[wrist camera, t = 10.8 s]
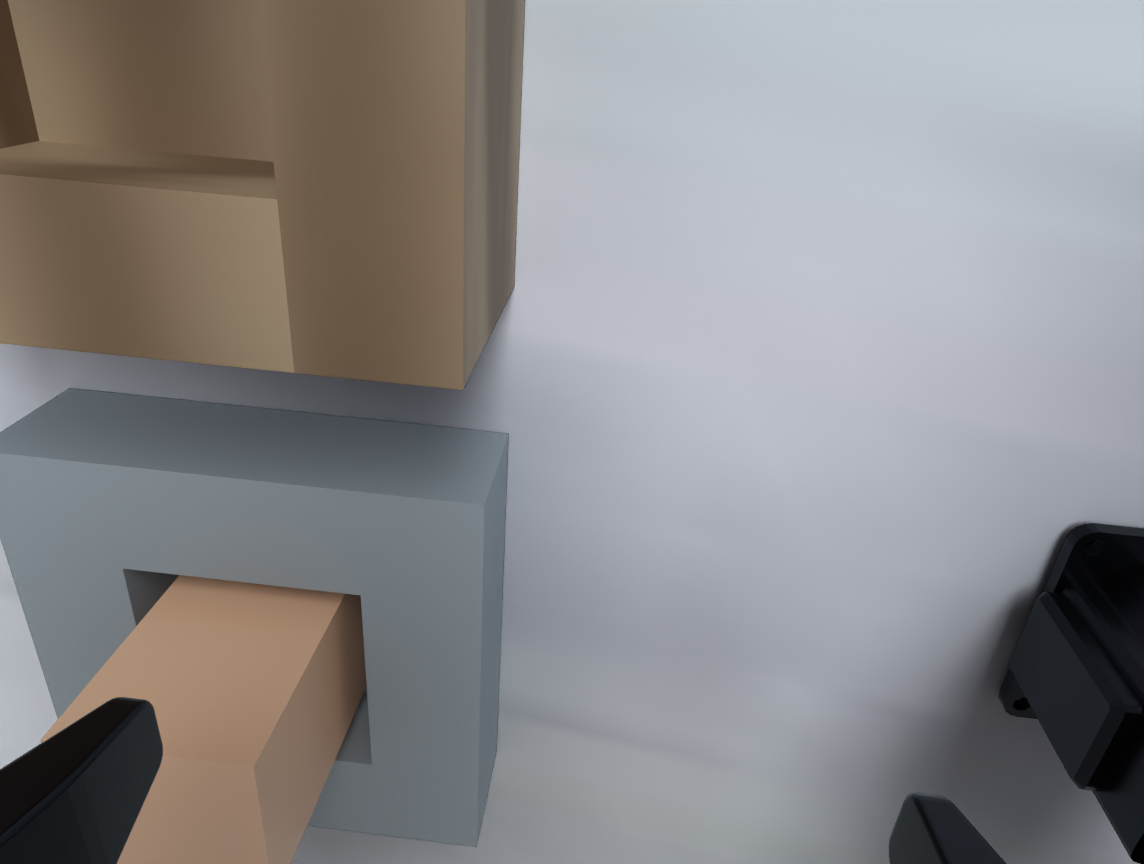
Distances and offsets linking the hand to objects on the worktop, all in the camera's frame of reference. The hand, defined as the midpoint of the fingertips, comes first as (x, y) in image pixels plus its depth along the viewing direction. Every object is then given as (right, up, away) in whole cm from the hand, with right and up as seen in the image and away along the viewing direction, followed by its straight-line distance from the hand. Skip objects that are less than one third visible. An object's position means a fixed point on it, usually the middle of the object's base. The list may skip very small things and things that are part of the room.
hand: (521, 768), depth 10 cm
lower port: (-7, -1, +15) cm, 16 cm away
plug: (-7, -1, +14) cm, 16 cm away
